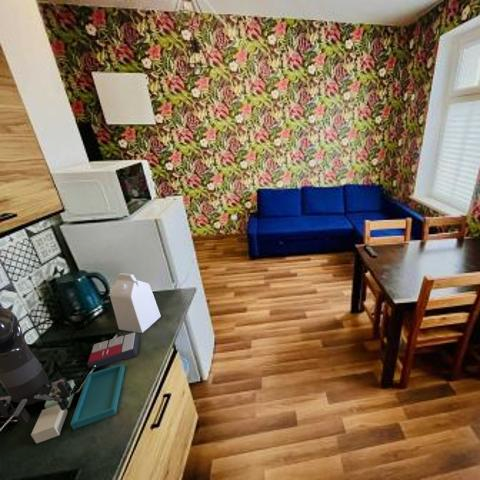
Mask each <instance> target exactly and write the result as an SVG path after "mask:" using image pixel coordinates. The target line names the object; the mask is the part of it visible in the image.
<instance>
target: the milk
mask: <svg viewBox="0 0 480 480" xmlns="http://www.w3.org/2000/svg"><path fill="white" fill-rule="evenodd" d="M109 297H110V302H111V305H112V309H113V313H114V316H115V320H116V324H117V327H118V328H117V329H118V330H120V331H127V332H131V333H134V332H137V333H138V334H139V333H140V334H143V333H145V332H146V331H147V330H148V329H149V328H150V327H151V326H153V324H154V323H155V322H157V320H159V319H160V318H161V317H162V316H161V313H160V310H159V307H158V304H157V301H156V298H155V296H154V293H153V290H152V287H151V285H150V284H149V283H148V282H145V281H141V280H138V279H137V278H136V277H135V275H134V274H133V273H126V272H119V273H118V274H117V280H116V282H115V283H114V285H113V287H112V289H111V291H110V293H109Z"/></svg>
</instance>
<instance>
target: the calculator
mask: <svg viewBox="0 0 480 480" xmlns="http://www.w3.org/2000/svg"><path fill="white" fill-rule="evenodd" d="M138 334H139V333H138V332H131V333H128V334H125V335H120V336H116V337H114V338H112V339H109V340H103V341H101V342H98V343H94V344H93V345H92V348H91V351H90V355H89V357H88V360H87V363H86V367H88V368H89V367H91V366H94V365H96V367H93V369H92V370H95V369H98V368H100V367H104V366H107V365H109V364H113V363H116V362H118V361H122V360H128V359H131V358H135V357H136V356H138V349H139V341H140V337H139V335H138Z"/></svg>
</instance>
